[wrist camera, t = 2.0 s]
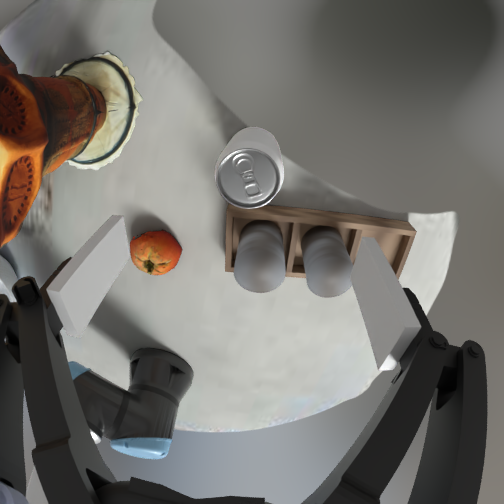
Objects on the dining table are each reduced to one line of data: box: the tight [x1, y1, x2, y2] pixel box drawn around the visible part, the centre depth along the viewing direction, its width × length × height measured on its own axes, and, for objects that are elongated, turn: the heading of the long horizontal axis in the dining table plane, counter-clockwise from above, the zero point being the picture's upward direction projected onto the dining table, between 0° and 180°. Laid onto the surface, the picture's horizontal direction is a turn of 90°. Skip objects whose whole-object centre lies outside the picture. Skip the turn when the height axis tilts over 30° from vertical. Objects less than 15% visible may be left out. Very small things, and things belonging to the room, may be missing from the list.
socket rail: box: [225, 203, 417, 297], centre depth 37 cm, size 27×9×9 cm, turn 86°
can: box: [215, 127, 284, 209], centre depth 29 cm, size 6×6×12 cm
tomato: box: [130, 230, 182, 275], centre depth 42 cm, size 8×7×7 cm
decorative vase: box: [0, 45, 143, 249], centre depth 20 cm, size 21×23×28 cm
